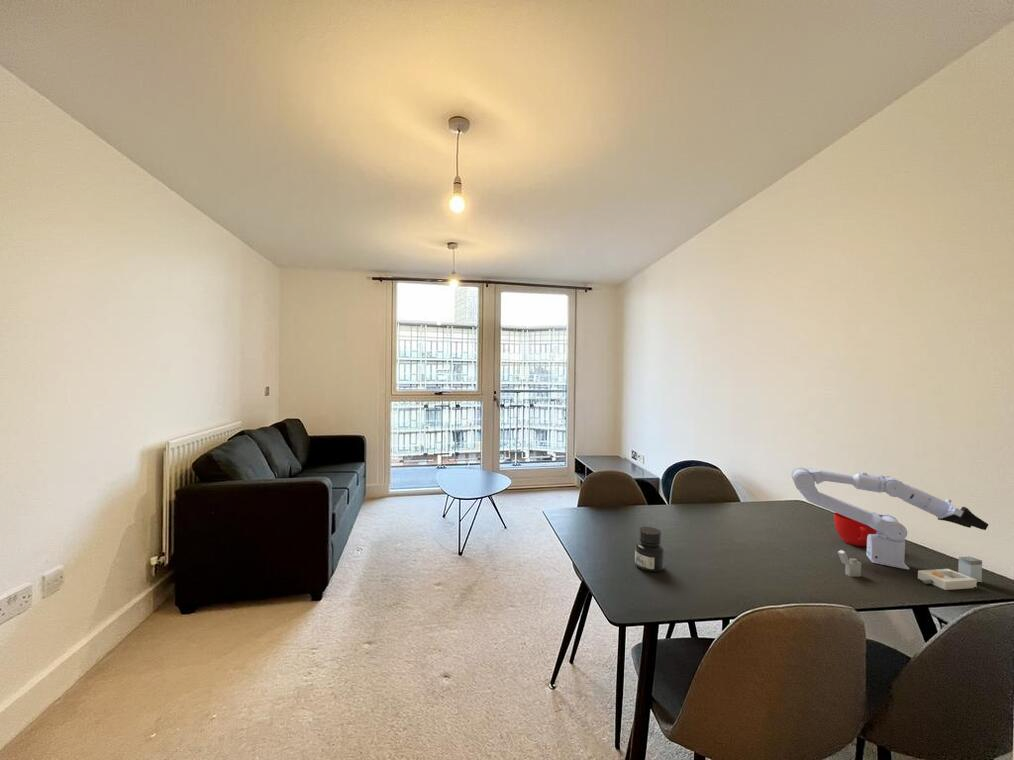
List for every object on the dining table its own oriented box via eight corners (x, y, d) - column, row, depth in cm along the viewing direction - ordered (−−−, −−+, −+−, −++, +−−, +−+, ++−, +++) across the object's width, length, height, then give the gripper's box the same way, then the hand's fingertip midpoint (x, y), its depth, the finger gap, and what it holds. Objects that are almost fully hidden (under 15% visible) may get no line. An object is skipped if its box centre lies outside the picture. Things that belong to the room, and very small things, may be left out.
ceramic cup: (841, 549, 148) (842, 522, 148) (829, 533, 163) (830, 509, 163) (887, 557, 142) (887, 529, 142) (870, 540, 157) (871, 515, 157)
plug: (970, 583, 125) (970, 561, 124) (957, 578, 127) (958, 557, 127) (981, 582, 125) (982, 560, 125) (969, 577, 128) (969, 556, 128)
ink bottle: (628, 561, 133) (629, 526, 133) (649, 558, 136) (650, 523, 136) (648, 575, 124) (649, 537, 124) (670, 571, 127) (671, 534, 127)
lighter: (856, 573, 129) (856, 549, 129) (861, 576, 127) (862, 551, 127) (836, 574, 128) (837, 549, 128) (841, 576, 126) (842, 552, 126)
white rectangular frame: (938, 590, 119) (939, 580, 119) (911, 578, 126) (912, 569, 126) (976, 587, 122) (976, 577, 122) (947, 576, 129) (948, 566, 129)
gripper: (942, 491, 127) (1000, 516, 120) (920, 491, 139) (971, 513, 133) (931, 510, 127) (988, 536, 120) (910, 508, 139) (960, 532, 133)
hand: (978, 526), depth 127 cm, fingers open, 7 cm apart
